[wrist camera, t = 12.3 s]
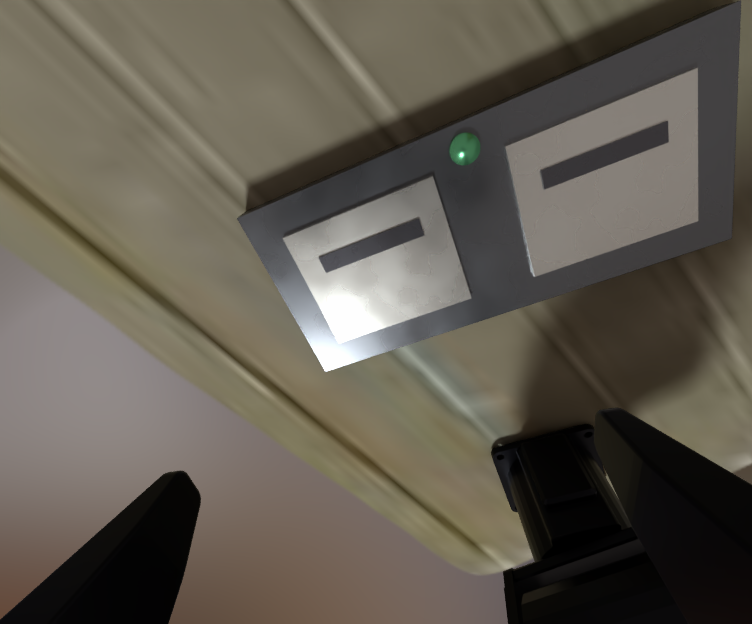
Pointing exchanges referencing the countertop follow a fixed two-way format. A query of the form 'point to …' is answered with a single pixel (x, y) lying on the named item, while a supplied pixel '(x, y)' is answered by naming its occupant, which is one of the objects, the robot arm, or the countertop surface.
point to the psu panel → (516, 198)
